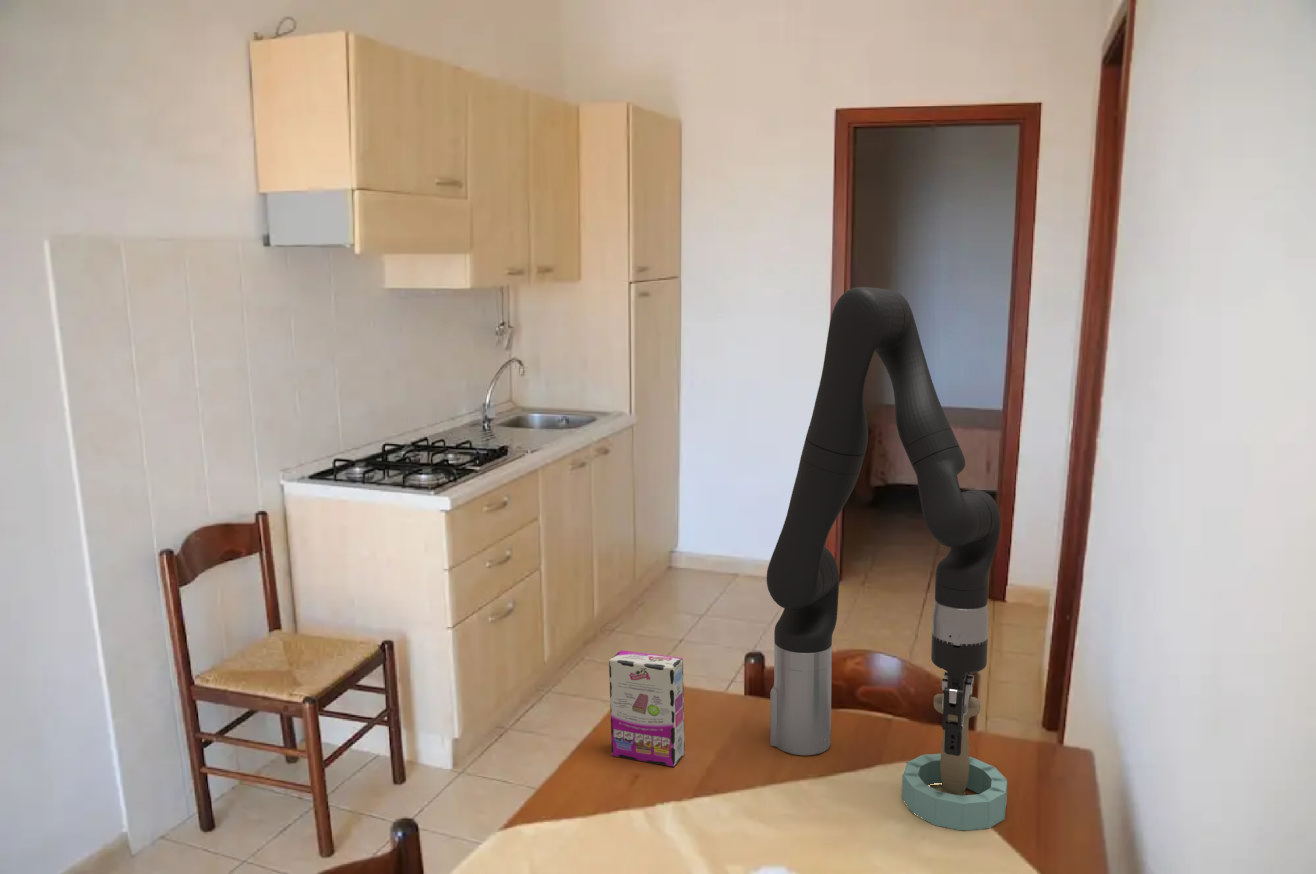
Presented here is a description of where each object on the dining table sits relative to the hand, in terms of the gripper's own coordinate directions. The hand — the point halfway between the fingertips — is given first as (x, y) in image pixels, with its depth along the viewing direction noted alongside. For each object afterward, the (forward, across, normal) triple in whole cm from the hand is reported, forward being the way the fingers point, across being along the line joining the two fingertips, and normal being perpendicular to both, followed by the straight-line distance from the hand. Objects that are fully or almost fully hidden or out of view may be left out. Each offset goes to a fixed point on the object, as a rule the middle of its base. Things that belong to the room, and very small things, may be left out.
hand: (955, 740), depth 135 cm
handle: (+10, -2, 0) cm, 10 cm away
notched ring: (+10, 0, 0) cm, 10 cm away
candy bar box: (+10, +3, -47) cm, 48 cm away
